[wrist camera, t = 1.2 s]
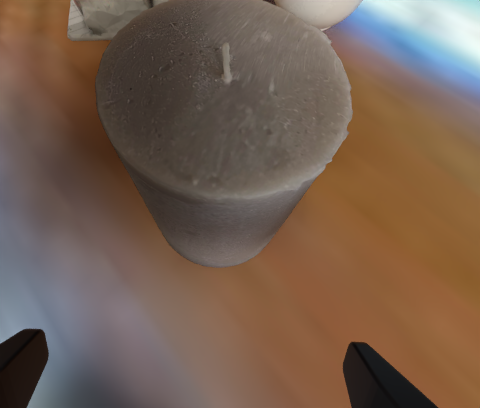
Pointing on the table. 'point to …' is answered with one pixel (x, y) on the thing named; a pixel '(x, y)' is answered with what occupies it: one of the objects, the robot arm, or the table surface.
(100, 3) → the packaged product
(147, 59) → the pillar candle
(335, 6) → the lidded jar
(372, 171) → the table surface
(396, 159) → the table surface
